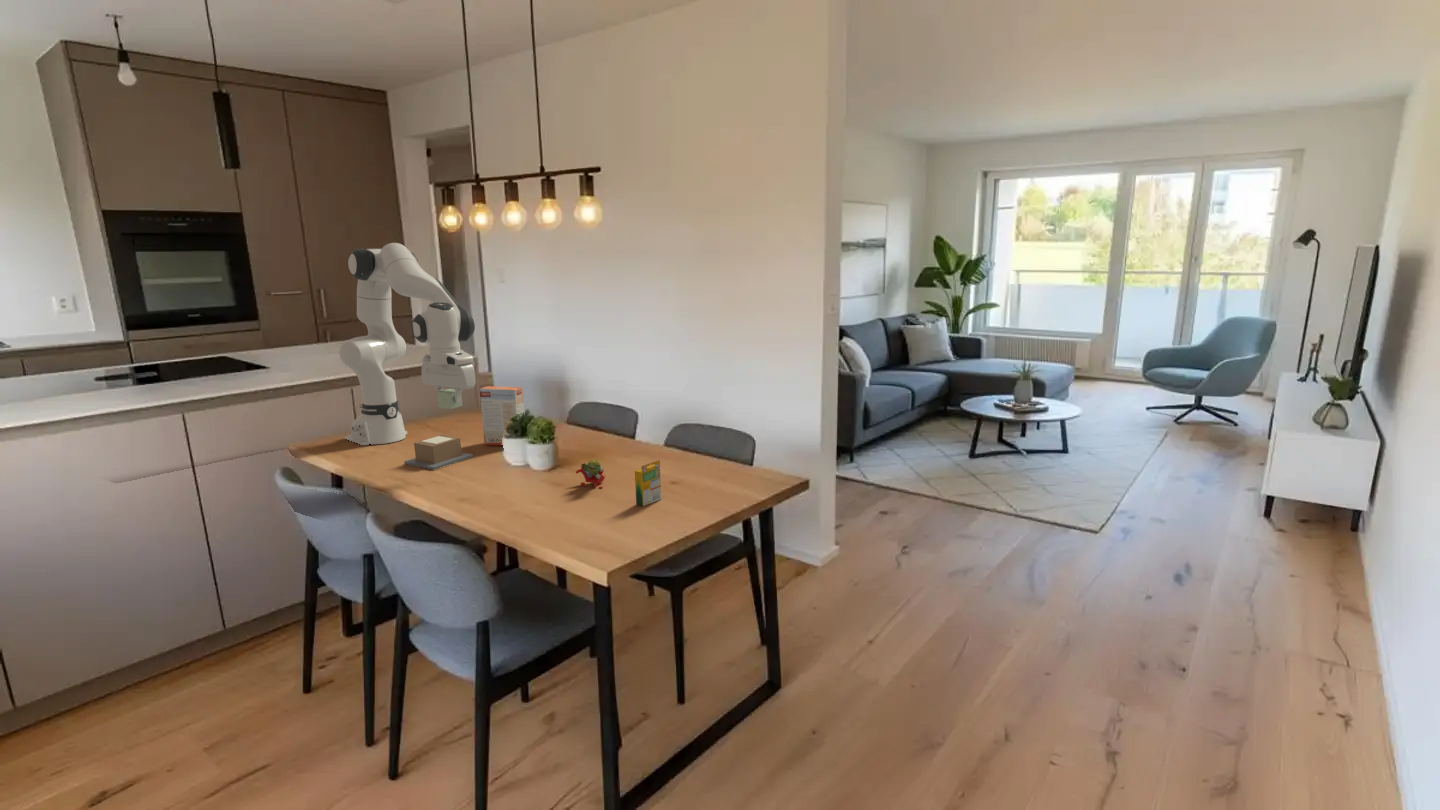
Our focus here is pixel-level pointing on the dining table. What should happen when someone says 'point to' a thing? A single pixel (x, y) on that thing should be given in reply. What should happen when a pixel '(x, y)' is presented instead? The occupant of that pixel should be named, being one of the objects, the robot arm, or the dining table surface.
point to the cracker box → (499, 410)
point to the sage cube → (447, 399)
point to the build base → (437, 452)
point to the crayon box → (648, 484)
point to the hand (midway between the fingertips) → (449, 400)
